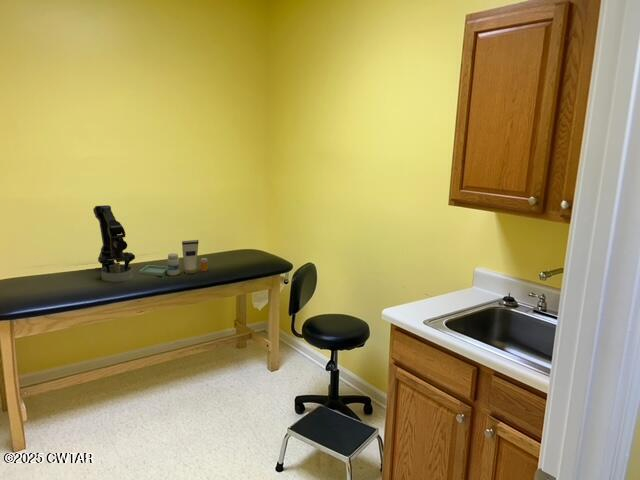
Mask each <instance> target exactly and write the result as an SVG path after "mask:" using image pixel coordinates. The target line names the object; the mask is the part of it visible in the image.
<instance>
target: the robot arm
mask: <svg viewBox="0 0 640 480" xmlns="http://www.w3.org/2000/svg"><path fill="white" fill-rule="evenodd" d="M92 210H93V214H94V217H95V218H96V219H97V220H98V223H99V228H100V234H101V241H102V246H101V248H100V253H99V255H98V258H97V262H98V263H99V264H101V269H102V268H104V267H106V269H107V271H108V273H110V270H109V266H110V265H114V263H122V262H124V265H125V271H126V270H127V268H128V265H129V266H130V263H131V262H132V261H133V260H135V259H136V256H135V254H134V253H133V252H128V251H125V250H127V248H128V243H127V241H125V240H124V238H126V235H127V234H126V231H125V228H124V227H123V226H122V224H121V222H120V221H118V220H117V219H116V217H115V215H114V214H113V211H112V207H111V205H96V206H94V207H93V209H92ZM124 251H125V252H124Z"/></svg>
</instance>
